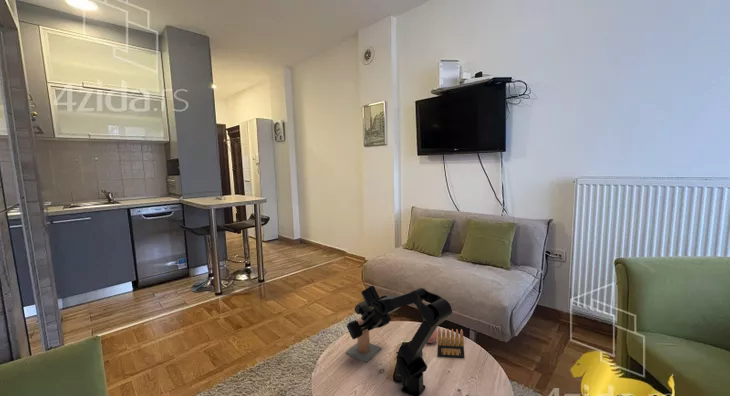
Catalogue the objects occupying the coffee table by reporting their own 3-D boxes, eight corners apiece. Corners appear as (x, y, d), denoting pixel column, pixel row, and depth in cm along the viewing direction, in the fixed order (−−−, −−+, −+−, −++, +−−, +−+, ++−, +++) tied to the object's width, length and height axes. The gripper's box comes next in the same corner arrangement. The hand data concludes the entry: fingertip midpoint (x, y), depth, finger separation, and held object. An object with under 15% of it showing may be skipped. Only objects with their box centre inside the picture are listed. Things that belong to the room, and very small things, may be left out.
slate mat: (381, 349, 130) (381, 347, 130) (366, 362, 121) (366, 361, 121) (361, 341, 137) (361, 339, 137) (345, 353, 128) (345, 352, 128)
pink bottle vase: (432, 335, 139) (432, 310, 138) (440, 344, 132) (440, 318, 131) (417, 338, 137) (416, 313, 136) (424, 347, 130) (424, 321, 129)
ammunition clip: (437, 357, 123) (437, 329, 122) (437, 354, 125) (436, 326, 124) (464, 358, 122) (464, 330, 121) (463, 355, 123) (463, 328, 122)
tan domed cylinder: (372, 350, 128) (371, 321, 127) (361, 355, 125) (360, 325, 124) (365, 344, 132) (364, 316, 131) (355, 348, 130) (354, 320, 128)
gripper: (384, 291, 129) (369, 307, 139) (348, 304, 118) (334, 321, 128) (397, 315, 124) (380, 330, 133) (360, 331, 112) (346, 346, 122)
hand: (360, 331), depth 129 cm, fingers open, 9 cm apart
